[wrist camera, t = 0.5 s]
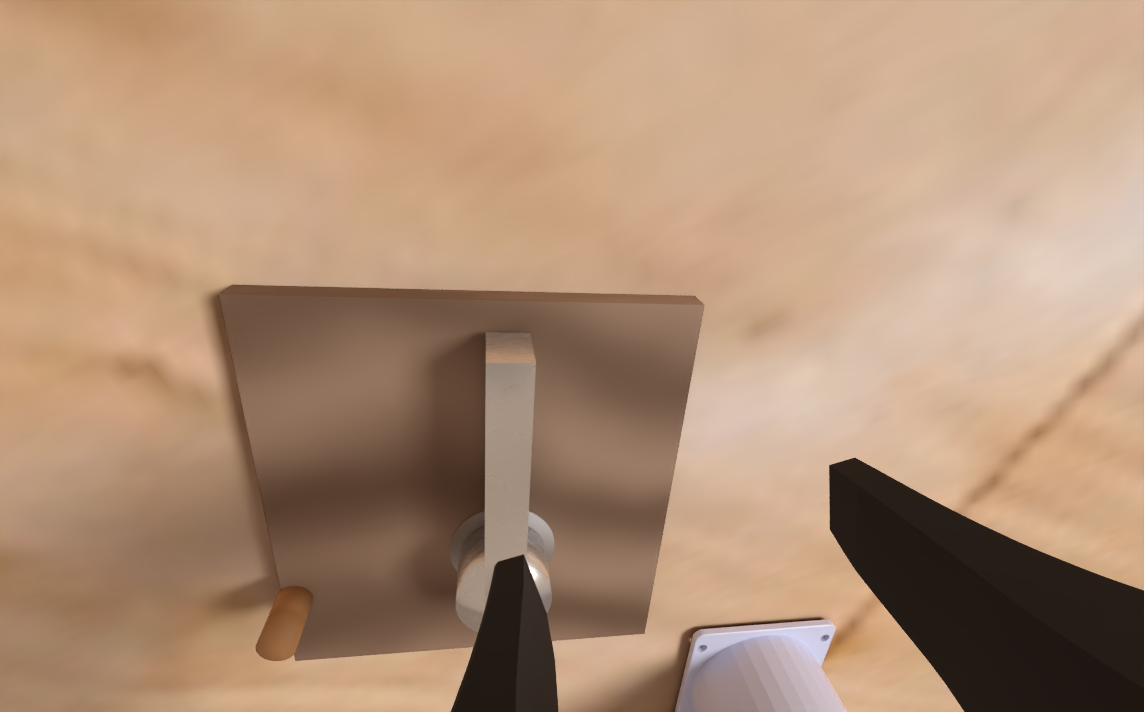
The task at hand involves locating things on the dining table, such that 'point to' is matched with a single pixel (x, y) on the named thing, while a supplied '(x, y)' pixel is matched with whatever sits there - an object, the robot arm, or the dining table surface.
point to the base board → (452, 453)
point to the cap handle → (504, 479)
